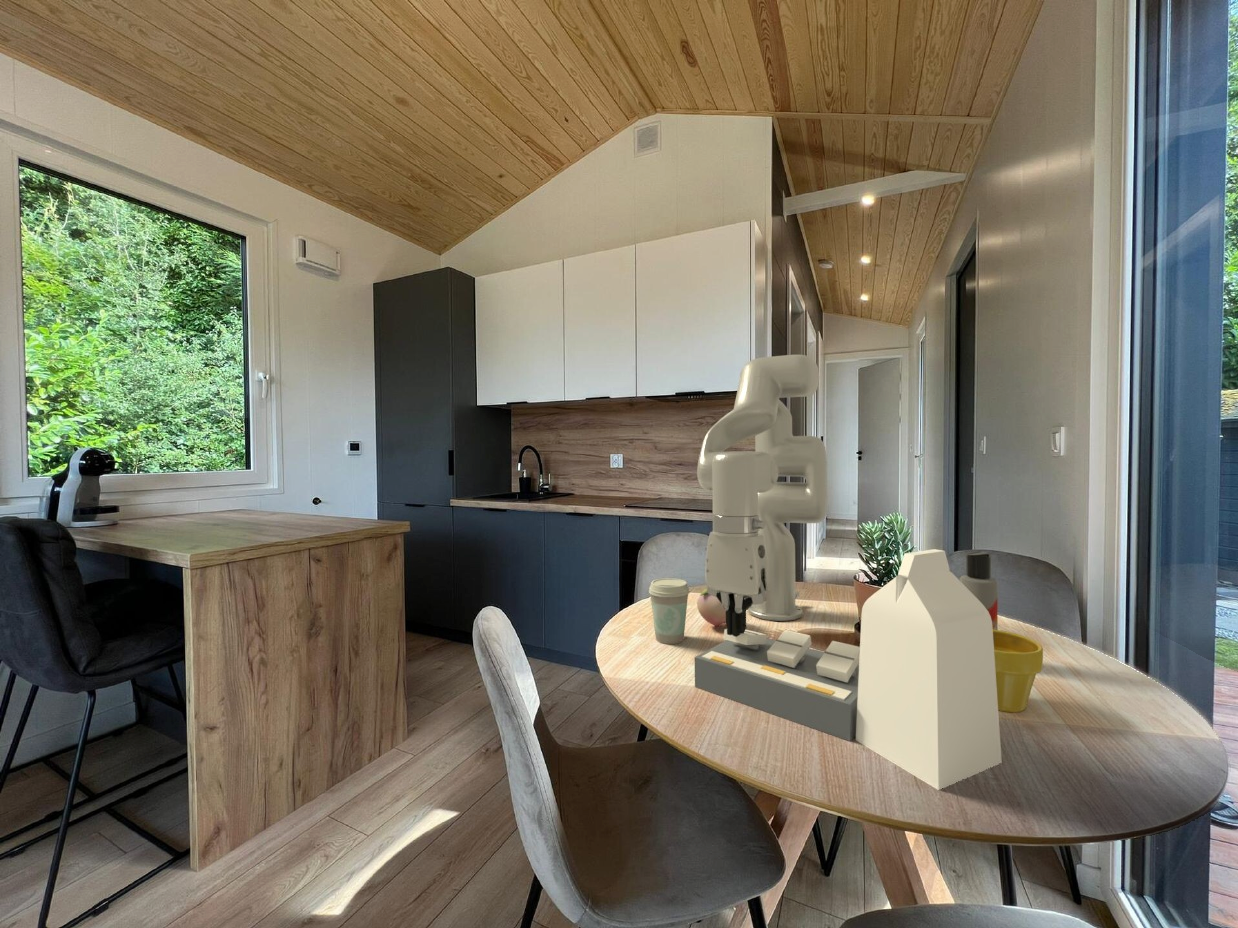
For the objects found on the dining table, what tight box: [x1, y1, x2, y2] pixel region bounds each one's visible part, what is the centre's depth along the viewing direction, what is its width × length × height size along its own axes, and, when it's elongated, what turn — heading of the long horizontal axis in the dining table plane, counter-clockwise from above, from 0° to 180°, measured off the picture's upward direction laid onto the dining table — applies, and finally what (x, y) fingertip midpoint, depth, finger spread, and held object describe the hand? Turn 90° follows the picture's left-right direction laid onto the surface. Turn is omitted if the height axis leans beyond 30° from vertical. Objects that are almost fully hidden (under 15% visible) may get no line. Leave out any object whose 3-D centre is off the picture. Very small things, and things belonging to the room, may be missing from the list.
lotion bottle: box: [959, 551, 999, 630], centre depth 96 cm, size 6×6×20 cm
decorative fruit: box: [696, 587, 726, 628], centre depth 116 cm, size 9×8×10 cm
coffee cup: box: [648, 577, 691, 645], centre depth 109 cm, size 8×9×12 cm
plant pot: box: [993, 629, 1044, 713], centre depth 80 cm, size 10×10×10 cm
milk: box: [855, 548, 1003, 791], centre depth 67 cm, size 12×12×26 cm
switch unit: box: [694, 637, 859, 742], centre depth 84 cm, size 16×25×6 cm, turn 47°
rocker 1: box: [723, 628, 768, 645], centre depth 90 cm, size 7×4×2 cm, turn 137°
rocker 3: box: [816, 640, 860, 682], centre depth 79 cm, size 7×4×2 cm, turn 138°
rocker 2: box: [767, 629, 812, 668], centre depth 85 cm, size 7×4×2 cm, turn 138°
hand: (736, 633), depth 88 cm, fingers closed
